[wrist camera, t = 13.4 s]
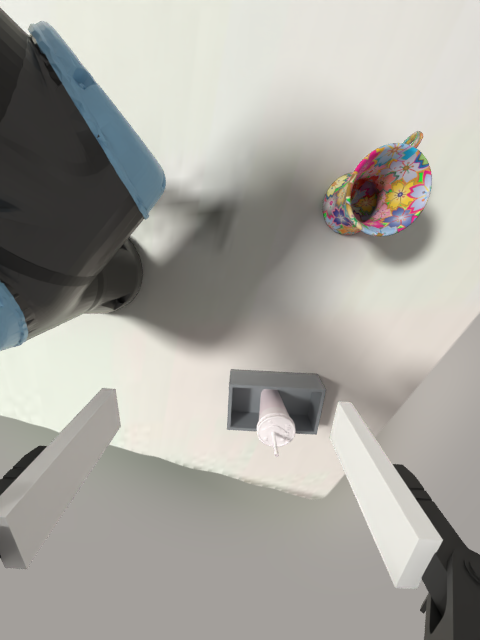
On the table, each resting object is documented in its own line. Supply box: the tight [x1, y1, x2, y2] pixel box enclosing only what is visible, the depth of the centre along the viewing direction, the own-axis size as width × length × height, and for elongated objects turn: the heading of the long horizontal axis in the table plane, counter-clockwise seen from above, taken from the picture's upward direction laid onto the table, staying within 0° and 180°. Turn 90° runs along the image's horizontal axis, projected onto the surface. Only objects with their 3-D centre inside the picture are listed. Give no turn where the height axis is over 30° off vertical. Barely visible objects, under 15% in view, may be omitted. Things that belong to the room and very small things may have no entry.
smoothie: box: [257, 389, 296, 457], centre depth 40 cm, size 6×6×14 cm
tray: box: [227, 369, 326, 435], centre depth 45 cm, size 17×10×5 cm, turn 87°
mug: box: [323, 131, 432, 236], centre depth 30 cm, size 12×9×11 cm
